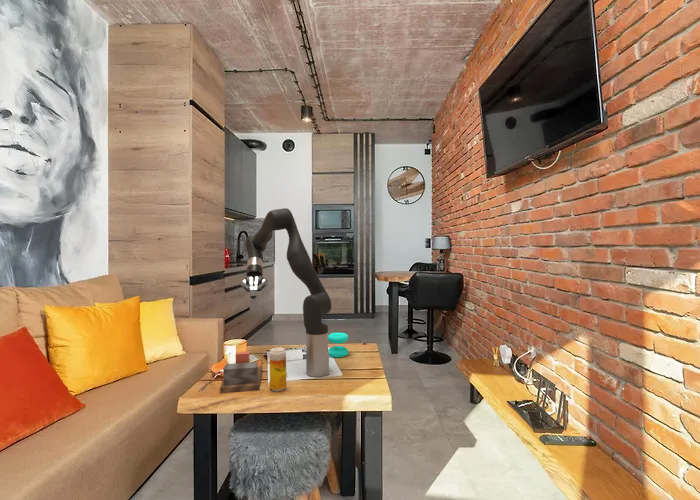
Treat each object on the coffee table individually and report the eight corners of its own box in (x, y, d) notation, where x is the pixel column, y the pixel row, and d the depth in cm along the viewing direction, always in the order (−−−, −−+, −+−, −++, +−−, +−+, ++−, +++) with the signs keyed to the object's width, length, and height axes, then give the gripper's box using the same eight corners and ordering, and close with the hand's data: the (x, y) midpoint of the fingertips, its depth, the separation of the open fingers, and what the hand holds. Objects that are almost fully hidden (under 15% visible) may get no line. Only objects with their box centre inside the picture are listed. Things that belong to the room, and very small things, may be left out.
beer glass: (282, 392, 136) (282, 352, 136) (267, 391, 138) (266, 351, 137) (288, 386, 142) (288, 347, 142) (273, 384, 144) (273, 346, 143)
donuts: (326, 332, 183) (345, 331, 185) (326, 352, 183) (345, 351, 185) (329, 337, 173) (350, 336, 175) (329, 359, 173) (350, 357, 176)
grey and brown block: (262, 371, 158) (261, 352, 158) (259, 390, 139) (258, 369, 138) (228, 373, 156) (227, 354, 156) (220, 393, 136) (219, 371, 136)
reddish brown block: (249, 373, 150) (249, 351, 150) (249, 375, 147) (248, 353, 147) (236, 374, 149) (236, 352, 149) (235, 376, 146) (235, 354, 146)
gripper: (239, 263, 175) (237, 293, 163) (268, 263, 177) (267, 292, 166) (241, 274, 180) (238, 303, 169) (269, 273, 183) (268, 302, 171)
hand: (253, 297), depth 167 cm, fingers closed
